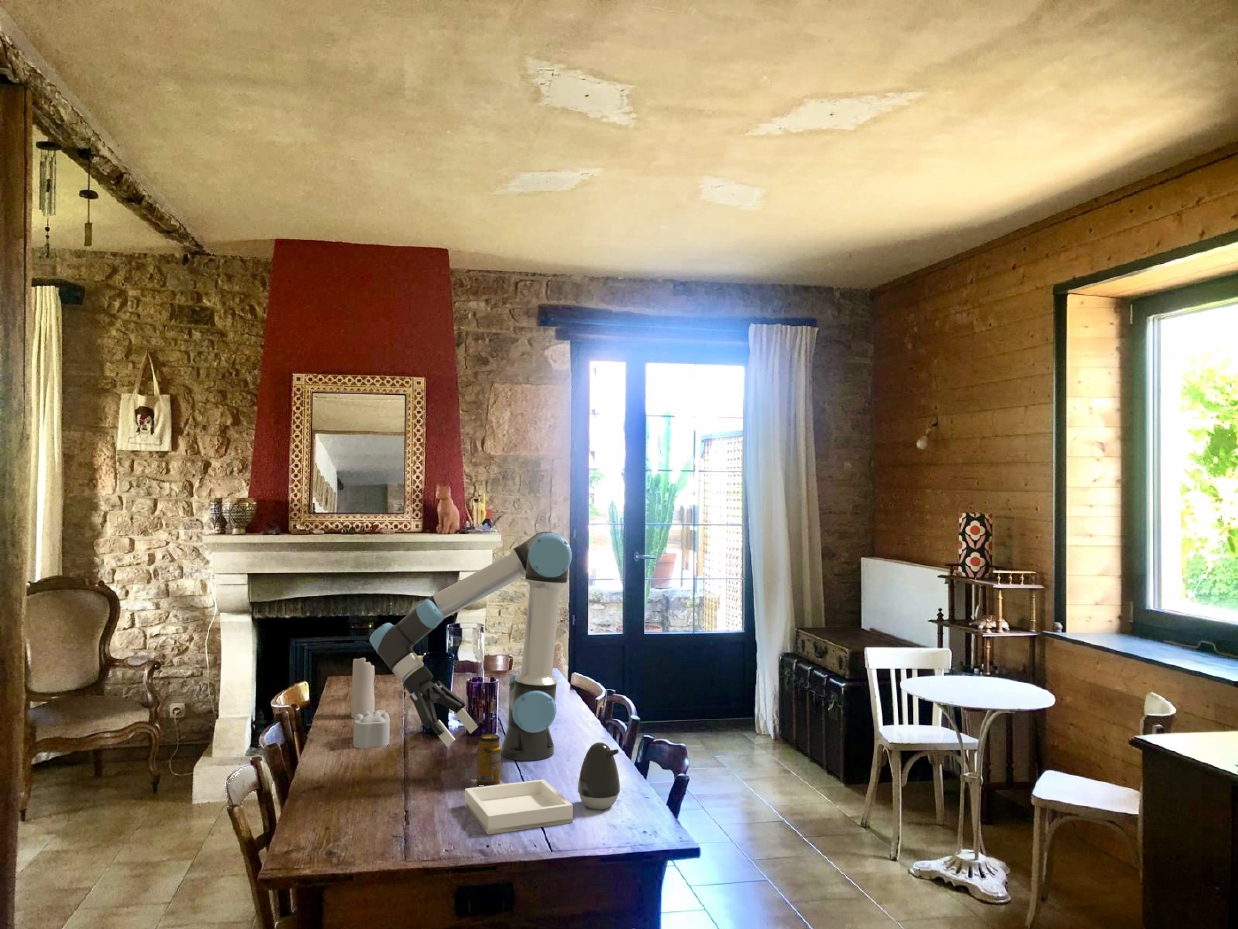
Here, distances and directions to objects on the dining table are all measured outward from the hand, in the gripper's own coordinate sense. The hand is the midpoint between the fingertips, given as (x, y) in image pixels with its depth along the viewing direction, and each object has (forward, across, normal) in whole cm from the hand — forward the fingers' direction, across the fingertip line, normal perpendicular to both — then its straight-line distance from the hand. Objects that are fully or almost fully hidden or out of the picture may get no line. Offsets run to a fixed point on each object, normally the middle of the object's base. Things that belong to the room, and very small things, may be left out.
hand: (463, 736), depth 234 cm
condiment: (+14, -1, -3) cm, 14 cm away
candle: (-34, -54, -51) cm, 81 cm away
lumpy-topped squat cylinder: (-21, -24, -38) cm, 50 cm away
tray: (+24, +18, +8) cm, 31 cm away
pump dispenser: (+36, +6, +20) cm, 42 cm away
